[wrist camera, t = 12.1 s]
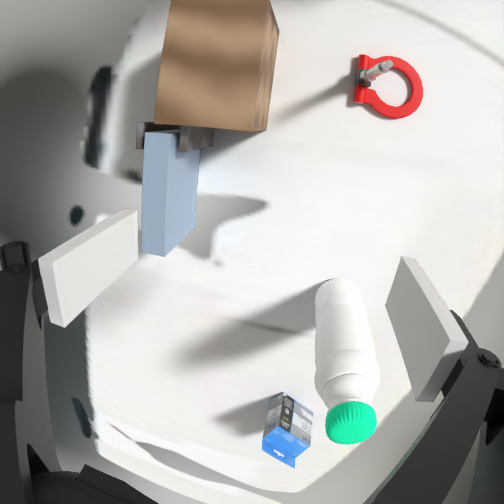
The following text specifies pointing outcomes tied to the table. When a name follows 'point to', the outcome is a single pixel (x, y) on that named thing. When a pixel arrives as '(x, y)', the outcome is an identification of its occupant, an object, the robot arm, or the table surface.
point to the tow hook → (377, 67)
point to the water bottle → (345, 362)
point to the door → (167, 191)
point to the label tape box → (287, 429)
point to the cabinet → (214, 70)
